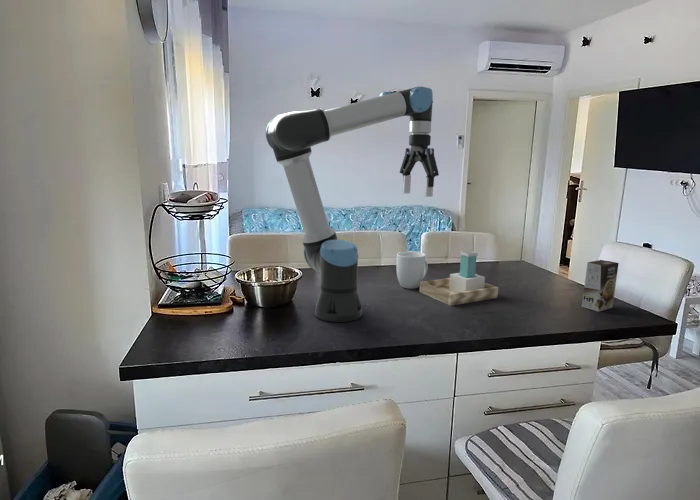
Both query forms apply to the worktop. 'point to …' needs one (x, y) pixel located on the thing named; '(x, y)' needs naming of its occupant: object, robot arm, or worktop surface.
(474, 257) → the plug
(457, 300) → the wooden tray
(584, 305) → the coffee box
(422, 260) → the mug
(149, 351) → the worktop surface
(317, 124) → the robot arm
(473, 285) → the inlet
